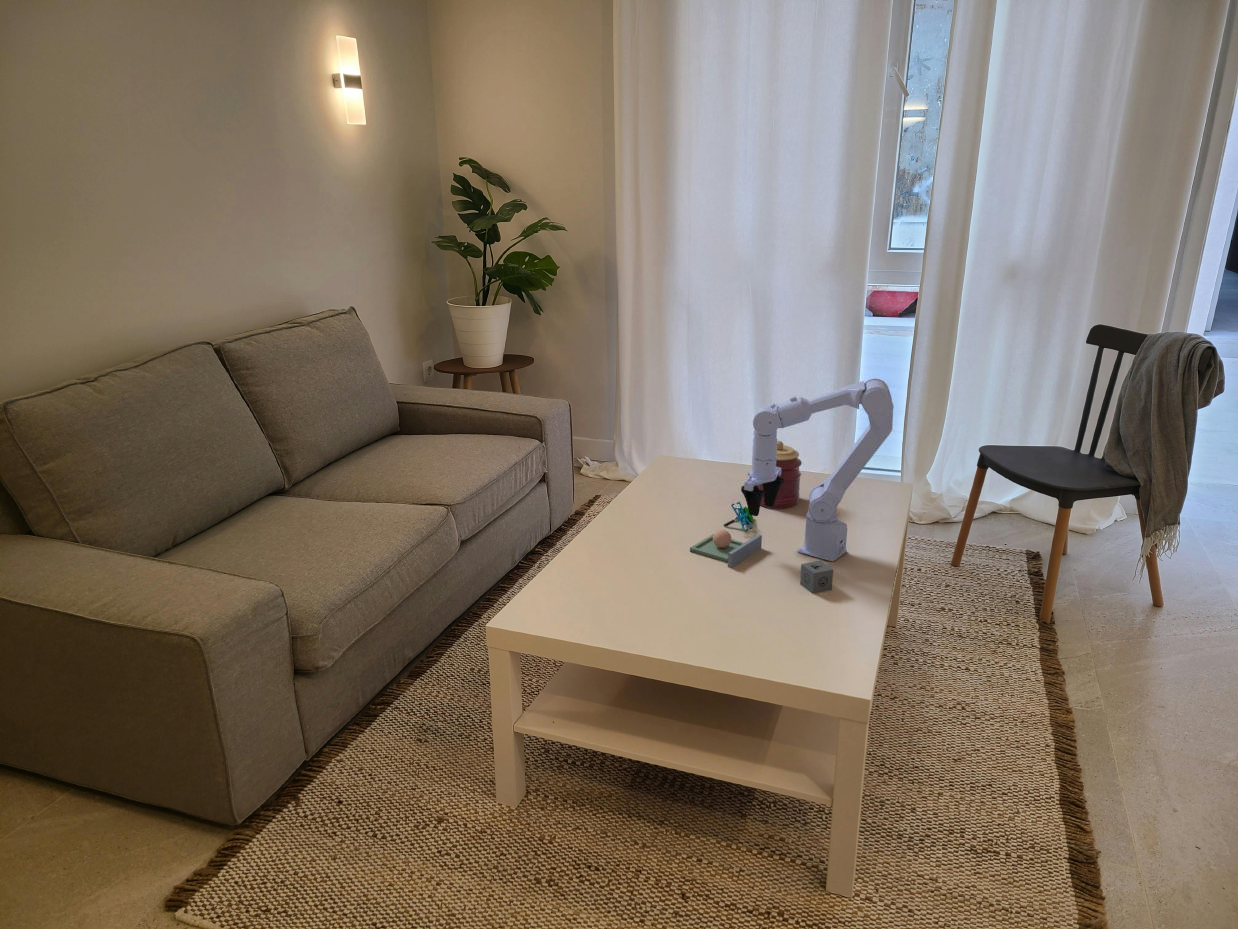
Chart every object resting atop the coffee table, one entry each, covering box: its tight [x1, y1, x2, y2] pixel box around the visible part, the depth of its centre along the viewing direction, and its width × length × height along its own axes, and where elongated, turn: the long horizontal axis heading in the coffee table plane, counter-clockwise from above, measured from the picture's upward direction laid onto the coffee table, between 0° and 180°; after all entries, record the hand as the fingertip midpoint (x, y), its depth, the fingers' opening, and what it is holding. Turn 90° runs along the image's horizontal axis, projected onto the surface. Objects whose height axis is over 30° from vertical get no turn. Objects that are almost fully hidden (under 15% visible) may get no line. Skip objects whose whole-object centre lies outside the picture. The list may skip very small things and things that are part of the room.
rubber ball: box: [712, 529, 732, 548], centre depth 210 cm, size 4×4×4 cm
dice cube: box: [799, 560, 834, 594], centre depth 190 cm, size 5×5×5 cm
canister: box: [758, 440, 803, 509], centre depth 239 cm, size 13×13×18 cm
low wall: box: [727, 533, 763, 568], centre depth 206 cm, size 1×14×4 cm, turn 142°
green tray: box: [689, 533, 744, 564], centre depth 210 cm, size 11×11×1 cm
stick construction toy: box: [723, 501, 755, 533], centre depth 225 cm, size 12×7×8 cm
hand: (761, 510), depth 209 cm, fingers open, 7 cm apart
